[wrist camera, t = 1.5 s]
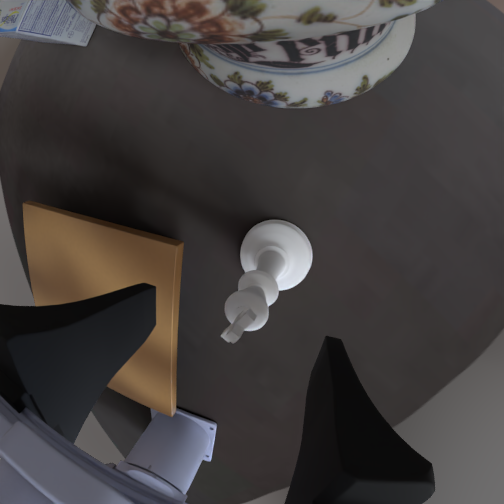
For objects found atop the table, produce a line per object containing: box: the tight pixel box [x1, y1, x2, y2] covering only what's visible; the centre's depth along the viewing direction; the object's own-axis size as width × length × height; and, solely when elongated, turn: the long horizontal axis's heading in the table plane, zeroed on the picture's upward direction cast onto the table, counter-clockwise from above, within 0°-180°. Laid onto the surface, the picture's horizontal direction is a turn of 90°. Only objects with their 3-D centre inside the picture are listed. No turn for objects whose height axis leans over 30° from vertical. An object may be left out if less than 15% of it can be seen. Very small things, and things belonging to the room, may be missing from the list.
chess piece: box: [221, 220, 312, 343], centre depth 16 cm, size 5×5×10 cm
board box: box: [23, 201, 184, 417], centre depth 24 cm, size 17×17×4 cm
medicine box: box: [0, 0, 96, 46], centre depth 14 cm, size 8×4×9 cm, turn 65°
